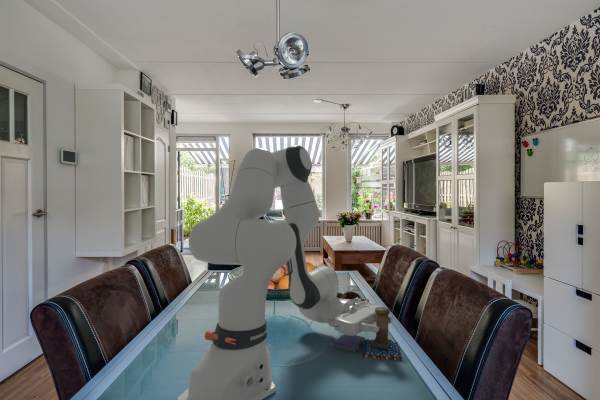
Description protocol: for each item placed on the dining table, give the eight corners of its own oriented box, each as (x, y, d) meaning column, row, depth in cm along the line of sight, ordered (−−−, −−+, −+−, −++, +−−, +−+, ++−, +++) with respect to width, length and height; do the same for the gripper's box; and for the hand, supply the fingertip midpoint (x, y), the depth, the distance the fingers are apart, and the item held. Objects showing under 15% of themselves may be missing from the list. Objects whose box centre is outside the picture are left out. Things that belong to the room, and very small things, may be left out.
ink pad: (355, 352, 97) (355, 347, 97) (332, 346, 101) (332, 342, 101) (365, 340, 105) (365, 336, 105) (343, 336, 109) (343, 332, 109)
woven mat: (402, 364, 92) (402, 356, 92) (362, 359, 94) (363, 352, 94) (399, 347, 102) (399, 340, 102) (363, 344, 104) (363, 337, 104)
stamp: (387, 351, 95) (387, 313, 95) (371, 347, 98) (372, 310, 97) (391, 345, 99) (392, 308, 99) (376, 341, 101) (377, 305, 101)
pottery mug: (365, 309, 138) (366, 294, 133) (355, 325, 131) (356, 310, 127) (339, 297, 144) (339, 282, 139) (328, 312, 137) (328, 297, 133)
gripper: (325, 312, 98) (368, 323, 90) (359, 296, 114) (399, 305, 106) (324, 334, 98) (368, 347, 90) (359, 315, 114) (398, 325, 106)
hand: (385, 324), depth 98 cm, fingers open, 8 cm apart
